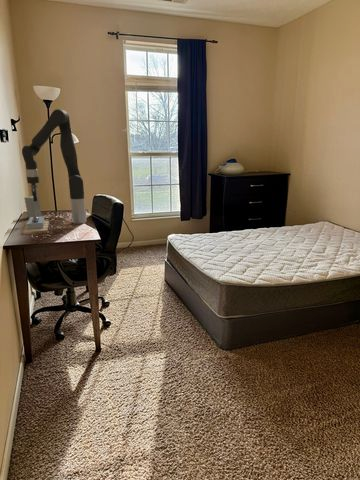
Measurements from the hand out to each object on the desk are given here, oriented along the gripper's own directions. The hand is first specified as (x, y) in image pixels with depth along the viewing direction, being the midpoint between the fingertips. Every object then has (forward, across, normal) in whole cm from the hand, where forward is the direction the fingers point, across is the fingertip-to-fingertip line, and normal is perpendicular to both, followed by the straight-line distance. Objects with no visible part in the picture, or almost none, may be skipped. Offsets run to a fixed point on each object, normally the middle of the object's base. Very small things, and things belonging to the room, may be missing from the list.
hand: (35, 201), depth 224 cm
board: (+15, +17, 0) cm, 23 cm away
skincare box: (+16, -20, -4) cm, 26 cm away
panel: (+14, +15, 0) cm, 21 cm away
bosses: (+14, +18, 0) cm, 23 cm away
